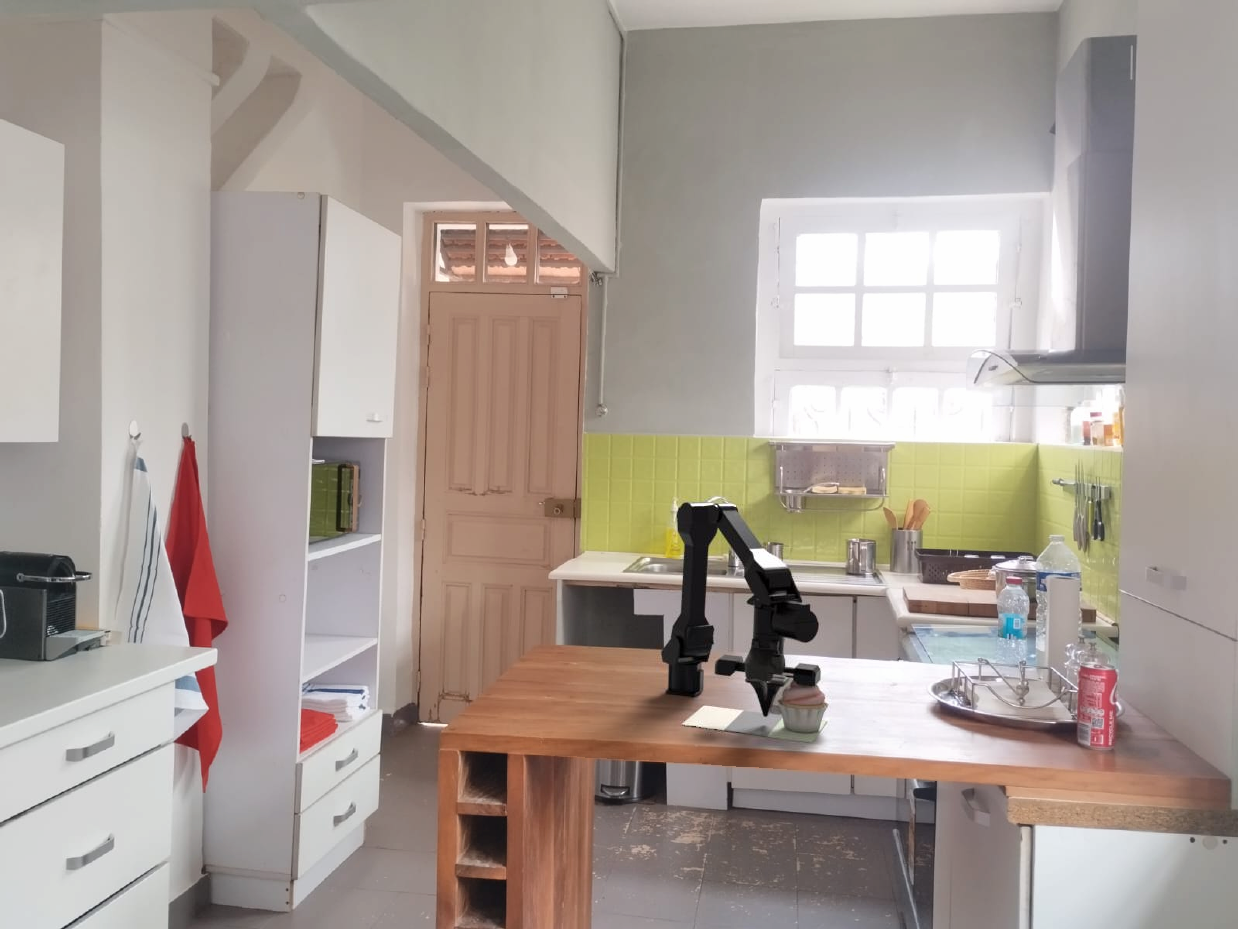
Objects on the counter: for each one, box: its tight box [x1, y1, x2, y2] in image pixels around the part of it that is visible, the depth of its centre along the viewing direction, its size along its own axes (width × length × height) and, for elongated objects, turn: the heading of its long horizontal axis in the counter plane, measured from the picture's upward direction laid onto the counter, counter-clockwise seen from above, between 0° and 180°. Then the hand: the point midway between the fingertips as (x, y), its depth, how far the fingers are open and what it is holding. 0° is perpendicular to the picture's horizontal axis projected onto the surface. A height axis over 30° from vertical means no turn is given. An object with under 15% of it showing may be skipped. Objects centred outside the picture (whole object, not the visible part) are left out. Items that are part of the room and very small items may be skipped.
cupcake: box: [777, 680, 830, 733], centre depth 178 cm, size 9×9×10 cm
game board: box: [681, 705, 828, 744], centre depth 181 cm, size 24×14×1 cm, turn 68°
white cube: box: [772, 677, 793, 707], centre depth 196 cm, size 6×6×6 cm
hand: (765, 716), depth 180 cm, fingers closed
